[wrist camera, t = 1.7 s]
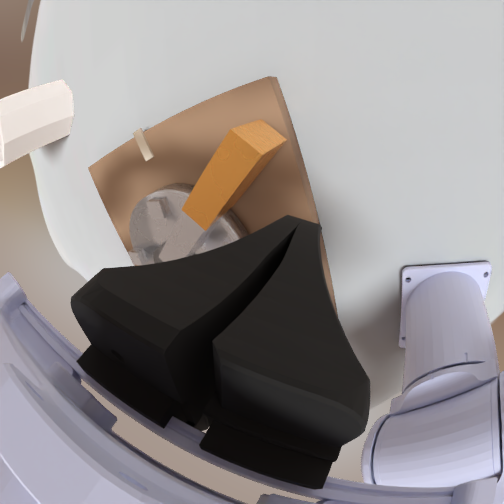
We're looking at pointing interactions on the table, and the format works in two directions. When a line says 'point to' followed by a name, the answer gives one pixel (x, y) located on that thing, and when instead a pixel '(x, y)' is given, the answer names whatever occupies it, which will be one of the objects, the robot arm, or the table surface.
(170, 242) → the silver orange handled piece
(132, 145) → the base plate
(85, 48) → the table surface
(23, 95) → the mug
